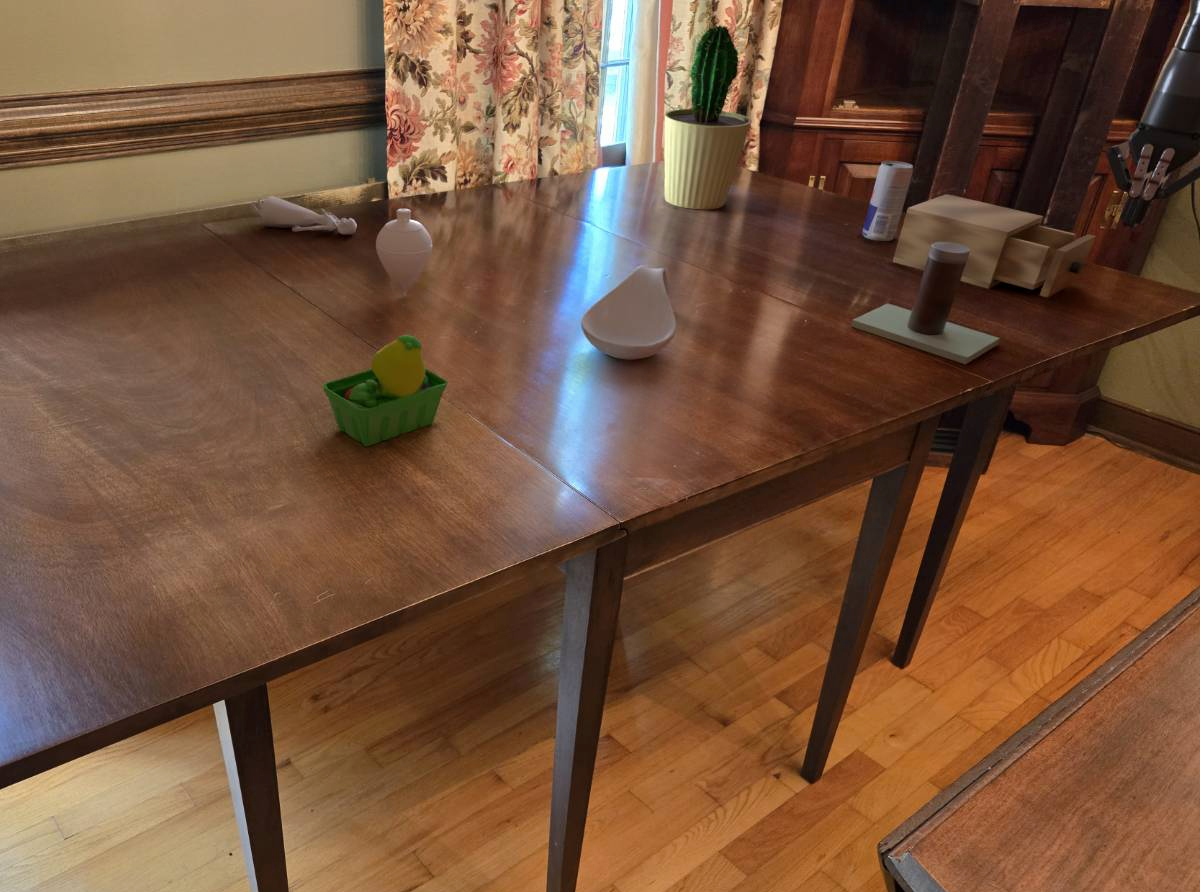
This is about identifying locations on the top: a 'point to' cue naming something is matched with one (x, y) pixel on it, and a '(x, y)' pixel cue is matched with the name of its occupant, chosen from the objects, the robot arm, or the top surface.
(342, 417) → the fruit basket
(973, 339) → the mat
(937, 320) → the glass of dark soda
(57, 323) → the top surface
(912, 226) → the cabinet
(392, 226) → the spinning top
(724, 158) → the potted cactus
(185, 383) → the top surface
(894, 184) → the energy drink
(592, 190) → the top surface
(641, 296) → the spoon rest
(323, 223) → the woman figurine
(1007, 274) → the drawer
